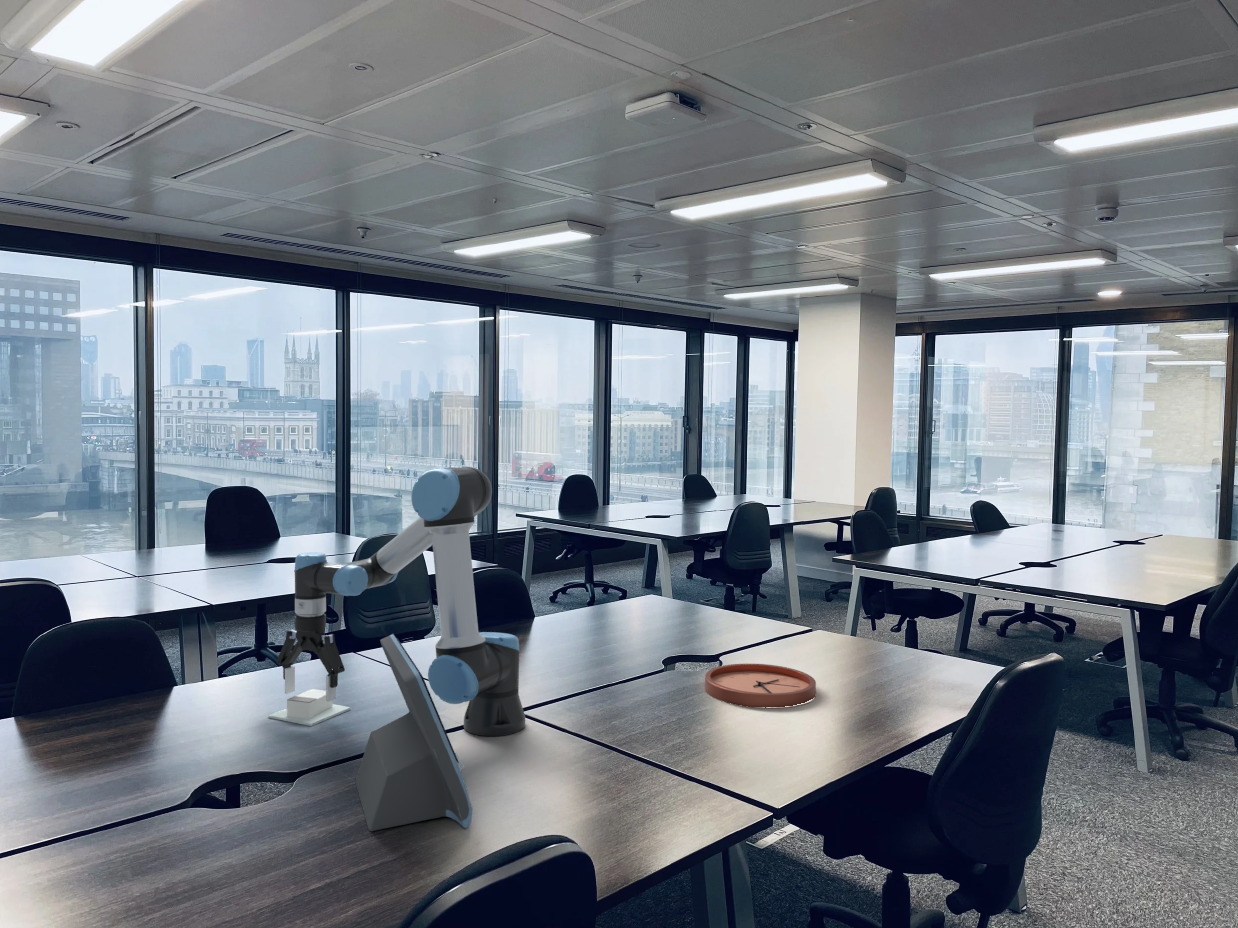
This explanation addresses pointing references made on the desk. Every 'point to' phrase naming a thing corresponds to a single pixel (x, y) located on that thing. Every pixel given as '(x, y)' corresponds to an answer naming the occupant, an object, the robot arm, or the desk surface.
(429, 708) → the touchscreen device
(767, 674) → the clock
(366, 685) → the desk surface
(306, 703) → the card deck box
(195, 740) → the desk surface
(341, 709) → the mat
